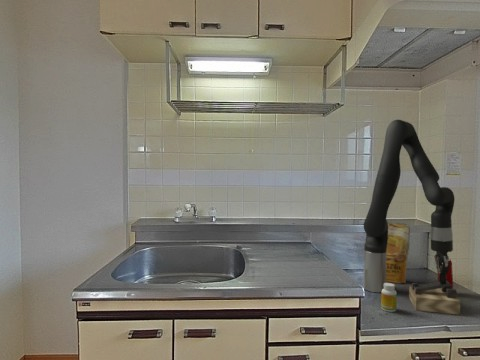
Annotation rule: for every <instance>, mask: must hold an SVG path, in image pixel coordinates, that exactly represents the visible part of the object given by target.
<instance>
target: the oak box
mask: <svg viewBox="0 0 480 360" xmlns="http://www.w3.org/2000/svg"><path fill="white" fill-rule="evenodd" d="M418 285H419V283H418V282H412V284H411V285H409V286H408V290H409V291H408V298H409V300H410V302H411V304H412V306H413V308H414V309H415V311H421V312H432V313H441V314H449V315H450V314H452V315H461V300H460V299H459V298H458V297H457V290H456V288H453V289H451V284H450V286H449V287H444V288H438V289H433V290H428V291H422V292H421V290H422V289H421V288H417V287H415V289H414V286H418Z"/></svg>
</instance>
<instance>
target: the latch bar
mask: <svg viewBox="0 0 480 360" xmlns="http://www.w3.org/2000/svg"><path fill="white" fill-rule="evenodd" d="M449 286H450V283H449V282H448V281H447V280H446V283H440V282H438V281H435V282H434V281H433V282H430V283H425V284H418V286H414V289H415V287H417V288H421V289H422V290H421V292H422V291H428V290H433V289H438V288H444V287H449Z"/></svg>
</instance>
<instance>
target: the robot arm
mask: <svg viewBox="0 0 480 360" xmlns="http://www.w3.org/2000/svg"><path fill="white" fill-rule="evenodd" d="M418 136H419V135H418V133H417V131H416V129H415V127H414V125H413V124H412V123H411V122H409V121H406V120H402V119H395V120H394V119H393V120H392V121H391V122H390V123H389V124H388V126H387V127H386V131H385V136H384V144H383V149H382V155H381V157H380V162H379V168H378V169H377V174H376V176H375V177H376V178H375V182H374V185H373V186H374V187H373V191H372V195H371V196H372V198H371V202H370V205H369V209H368V212H367V214H366V217H365V218H364V222H363V230H364V232H365V236H366V237H365V242H364V246H363V247H364V250H363V251H364V255H363V256H364V257H363V278H362V279H363V281H362V283H363V285H362V286H363V287H362V288H363V290H364V289H365V290H364V291H368V292H372V293H382V289H384V283H387V282H386V250H387V242H388V223H389V222H388V220H387V216H388V211H389V209H390V205H391V203H392V201H393V198H394V196H395V194H396V192H397V189H398V185H399V182H400V178H401V160H400V159H401V158H400V157H401V155H400V154H401V150H402V148H404V149H405V151H406V153H407V154H408V156H409V160H410V163H411V167H412V169H413V171H414V173H415V175H416V177H417V178H418V181H419V182H420V183H421V186H422V190H423V194H424V196H425V197H424V198H426V200H427V202H428V203H429V204H430V205H431V206H435V210H434V211H433V212H431V215H430V249H431V250H432V251H433V252H436V253H435V255H434V257H433V258H434V262H435V266H436V270H437V269H438V272H439V282H440V283H446V274H447V273H448V271H449V267H450V262H448V261H449V259H450V257H449V254H448V253H451V252H453V251H454V245H453V243H454V242H453V241H454V240H453V236H454V235H453V229H452V225H453V224H452V215H453V211H454V205H455V194H454V191H453V190H452V189H451V188H449V187H446V186H445V187H444V186H442V187H441V186H440V183H439V180H440V175H439V173H438V172H437V170H436V168H435V167H434V165H433V164H432V162H431V160H430V159H429V157H428V155H427V154H426V152H425V150H424V148H423V145H422V143H421V141H420V139H419V137H418Z"/></svg>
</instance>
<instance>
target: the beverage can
mask: <svg viewBox="0 0 480 360" xmlns="http://www.w3.org/2000/svg"><path fill="white" fill-rule="evenodd" d="M448 262H450V267H449V271H448V273H447V274H446V280H447V281H448V282H449V283H450V284H451V289H454V277H453V276H454V275H453V261H452V259H451V258H449V261H448ZM436 271H437V272H436V273H437V282H439V272H438V269H437V268H436Z"/></svg>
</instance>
